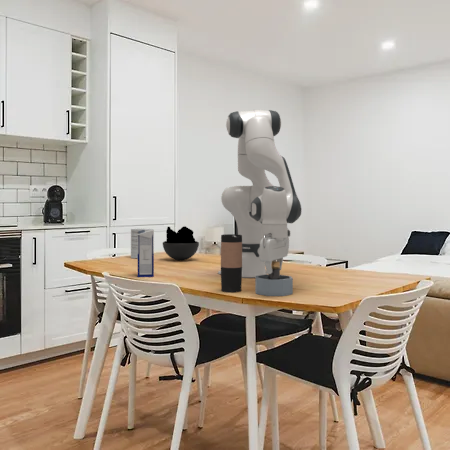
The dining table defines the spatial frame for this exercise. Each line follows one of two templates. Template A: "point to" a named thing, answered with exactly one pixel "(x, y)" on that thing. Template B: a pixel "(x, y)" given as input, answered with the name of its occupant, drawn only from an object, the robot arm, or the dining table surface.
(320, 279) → the dining table surface
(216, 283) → the dining table surface
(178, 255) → the coal bowl
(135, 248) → the supplement box
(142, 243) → the milk carton
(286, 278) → the cup
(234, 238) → the travel mug
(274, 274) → the battery cell
